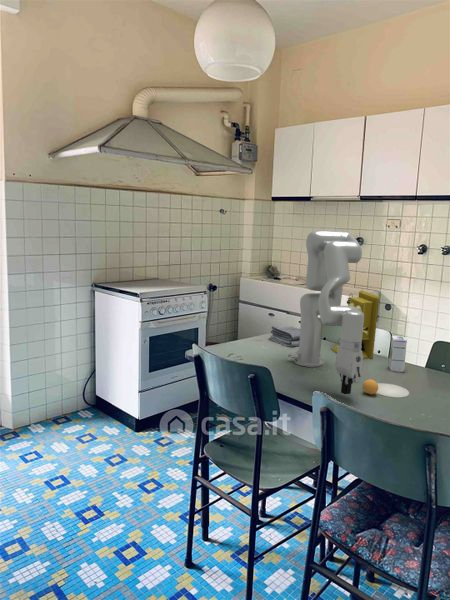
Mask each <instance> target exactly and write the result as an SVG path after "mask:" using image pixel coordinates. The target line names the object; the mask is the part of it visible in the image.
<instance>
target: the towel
mask: <svg viewBox="0 0 450 600" xmlns="http://www.w3.org/2000/svg"><path fill="white" fill-rule="evenodd" d="M270 333H271V335H270V337H269V338H268V340H269V341H270V342H271V341H272V342H273V343H277V344H279V345H283V346H286V347H289V348H290V347H291V348H292V347H299V340H300V328H297V327H294V326H286V327H285V326H284V327H280V328H279V327H278V326H275V325H272V326H271V330H270Z"/></svg>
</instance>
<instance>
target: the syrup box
mask: <svg viewBox="0 0 450 600" xmlns="http://www.w3.org/2000/svg"><path fill="white" fill-rule="evenodd" d="M390 339H391V340H390V348H389V349H390V351H389V361H388V369H389V370H390V371H392V372H396V373H397V372H400V373H404V372H405V363H406V353H407V343H408V339H406V337H405V336H402V335H391V338H390Z"/></svg>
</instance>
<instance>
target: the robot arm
mask: <svg viewBox="0 0 450 600" xmlns="http://www.w3.org/2000/svg"><path fill="white" fill-rule="evenodd" d="M305 240H306V242H305V245H306V252H307V266H306V276H305V286H306V288H307V289H308V290H309V291H313V292H310V293H309V292H308V293H304V294H303V295H302V296H301V297H300V298H299V299H300V300H299V308H300V325H299V327H300V328H299V329H300V340H299V346H298V350H297V351H296V352H287V357H288V358H291V359H294V362H293V363H295V364H296V365H297V366H301V367H307V368H318V367H322V366H323V365H324V361H323V360H322V359H321V348H322V347H321V346H322V335H323V325H324V326H326V327H327V326H328V327H340V337H339V338H340V339H339V345H338V346H339V348H338V352H337V353H336V358H335V370H336V373H337V374H338V376H340V382H341V387H340V389H341V390H340V393H341V394H343V395H351V393H352V385H353V384H354V383H359V378H362V377H363V373H364V371H363V369H364V358H363V354H362V351H361V348H362V346H361V344H362V334H363V324H364V314H363V313H362V312H361V311H358V310H357V308H355V307H353V306H348V305H341V303H342V298H343V296H342V295H343V287H344V285H347V283H349V282H350V280H351V274H350V273H351V272H350V265H349V264H357V263H359V262H360V261H361V259H362V257H363V251H362V247H361V244H360V243H359V242H358V240H357V239H356V238H355V237H354V236H353V235H352V234H351V233H350V232H348V231H342V230H341V231H340V230H312V231H311V232H309V233H308V234H307V237H306V239H305ZM315 291H316V292H315Z"/></svg>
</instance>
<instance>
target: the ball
mask: <svg viewBox="0 0 450 600" xmlns="http://www.w3.org/2000/svg"><path fill="white" fill-rule="evenodd" d="M362 388H363V392H364V393H366V394H368V395H375V394H377V393H376V392H377V391H378V382H377V381H376V380H374V379H366V380H365V381H364V382H363V384H362Z"/></svg>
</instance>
